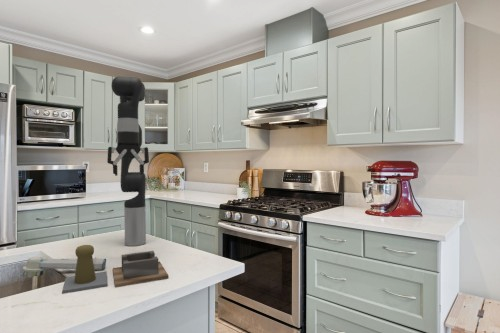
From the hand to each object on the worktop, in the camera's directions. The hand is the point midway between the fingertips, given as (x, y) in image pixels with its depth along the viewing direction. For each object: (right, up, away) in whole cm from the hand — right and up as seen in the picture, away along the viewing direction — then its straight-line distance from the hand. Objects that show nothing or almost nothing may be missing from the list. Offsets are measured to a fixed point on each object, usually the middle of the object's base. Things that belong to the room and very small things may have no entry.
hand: (128, 175), depth 116 cm
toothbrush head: (-19, -34, -8) cm, 39 cm away
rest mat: (-7, -33, -17) cm, 38 cm away
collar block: (+8, -33, -10) cm, 36 cm away
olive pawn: (-7, -33, -17) cm, 38 cm away
